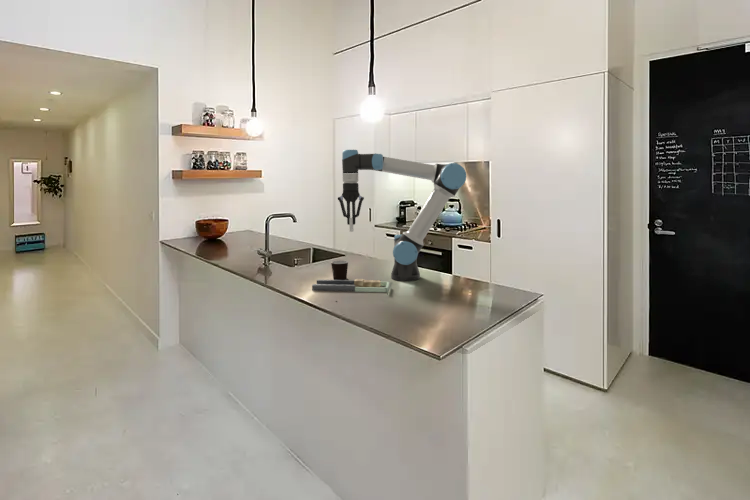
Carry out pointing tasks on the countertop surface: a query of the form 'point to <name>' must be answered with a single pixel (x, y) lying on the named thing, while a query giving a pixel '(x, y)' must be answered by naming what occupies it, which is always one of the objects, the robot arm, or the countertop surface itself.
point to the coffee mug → (339, 269)
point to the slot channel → (334, 285)
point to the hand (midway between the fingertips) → (351, 231)
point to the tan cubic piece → (358, 282)
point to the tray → (374, 288)
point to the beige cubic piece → (376, 283)
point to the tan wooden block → (367, 283)
